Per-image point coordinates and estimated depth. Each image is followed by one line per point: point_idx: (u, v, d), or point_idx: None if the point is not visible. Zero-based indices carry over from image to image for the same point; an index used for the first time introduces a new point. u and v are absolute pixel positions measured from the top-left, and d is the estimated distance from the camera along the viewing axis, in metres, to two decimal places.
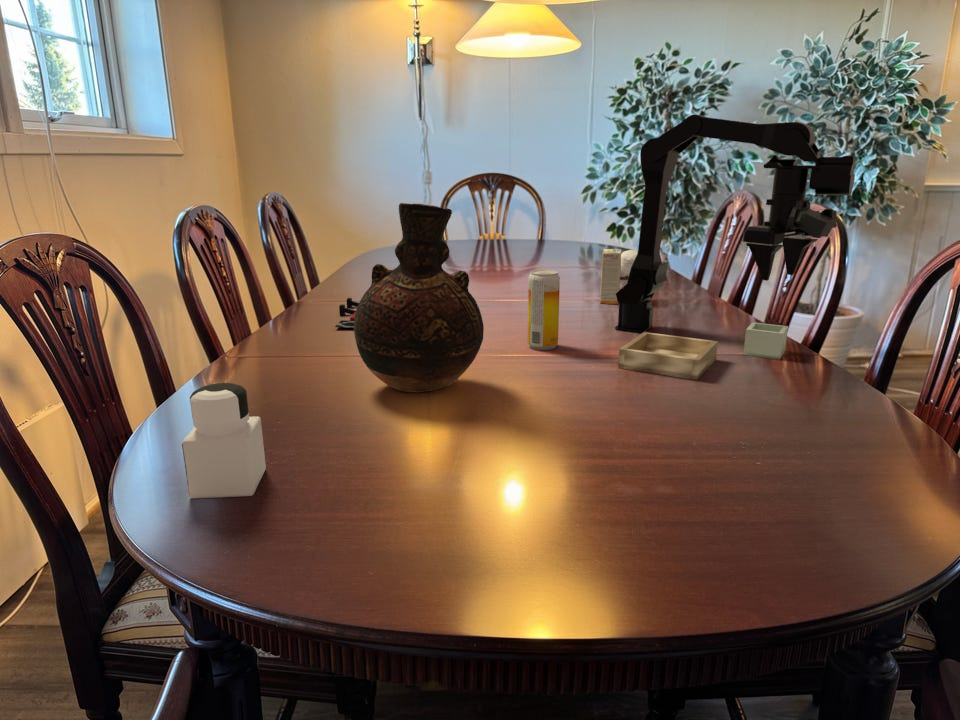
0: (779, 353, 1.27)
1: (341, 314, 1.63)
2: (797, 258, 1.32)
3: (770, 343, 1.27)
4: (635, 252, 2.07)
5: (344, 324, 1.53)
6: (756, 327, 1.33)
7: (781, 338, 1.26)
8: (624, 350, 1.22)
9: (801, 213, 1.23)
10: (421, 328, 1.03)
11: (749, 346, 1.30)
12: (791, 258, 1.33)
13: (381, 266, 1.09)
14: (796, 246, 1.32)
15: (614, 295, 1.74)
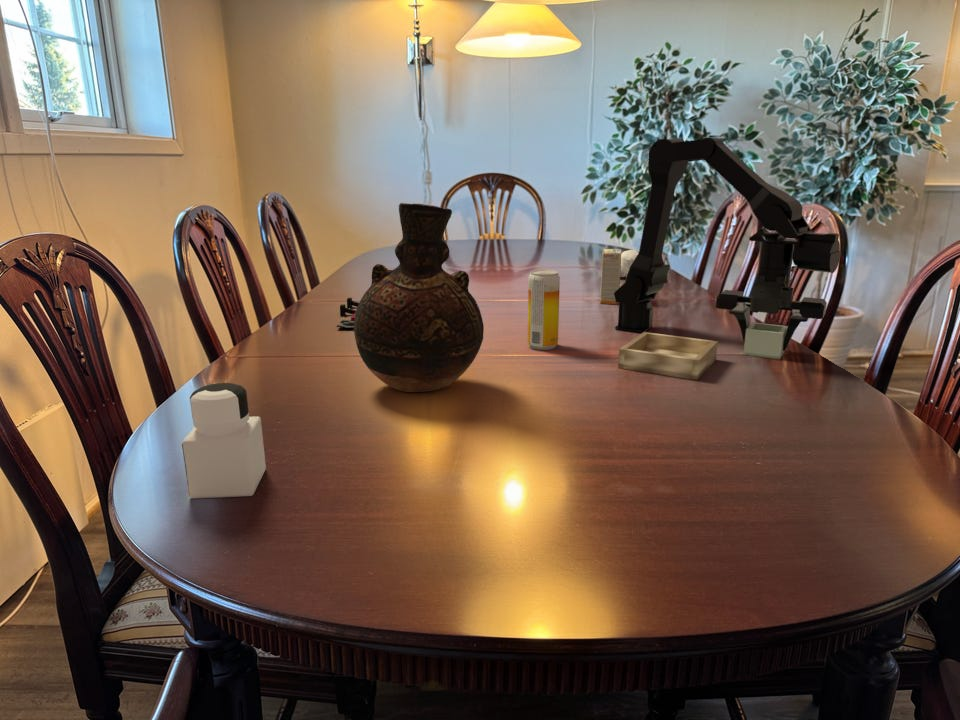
0: (779, 353, 1.27)
1: (342, 314, 1.63)
2: None
3: (770, 343, 1.27)
4: (635, 252, 2.07)
5: (345, 324, 1.52)
6: (756, 327, 1.33)
7: (781, 338, 1.26)
8: (624, 350, 1.22)
9: (756, 286, 1.26)
10: (421, 328, 1.03)
11: (749, 346, 1.30)
12: None
13: (381, 266, 1.09)
14: None
15: None
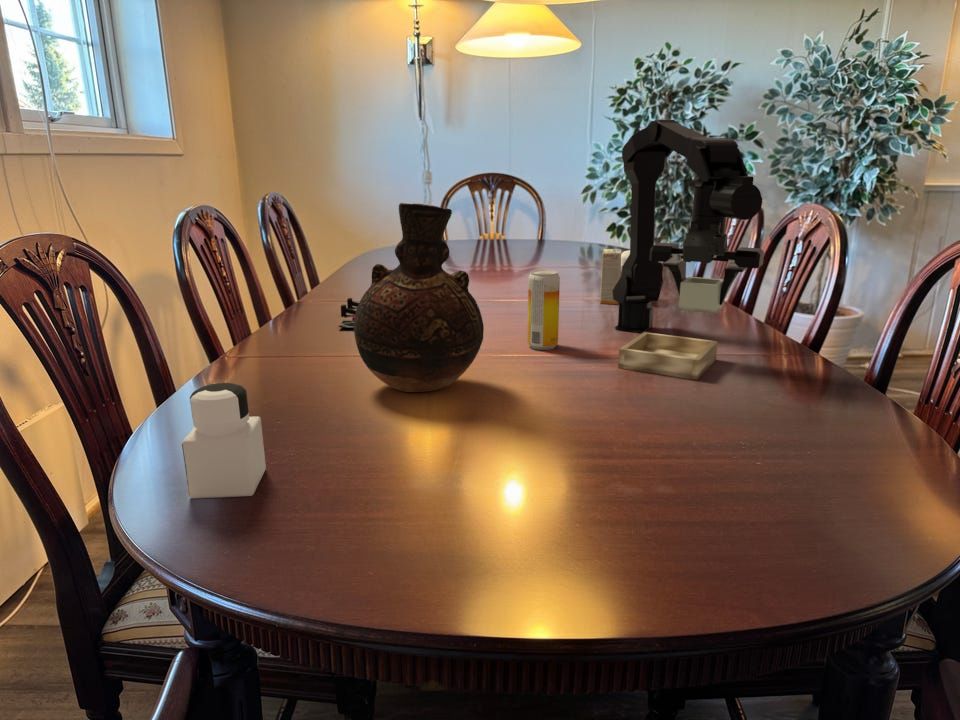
0: (715, 307, 1.20)
1: (343, 314, 1.63)
2: (722, 287, 1.21)
3: (706, 296, 1.20)
4: None
5: (347, 324, 1.52)
6: (693, 281, 1.26)
7: (717, 290, 1.19)
8: (624, 350, 1.22)
9: None
10: (421, 328, 1.03)
11: (684, 300, 1.22)
12: None
13: (381, 266, 1.09)
14: None
15: None
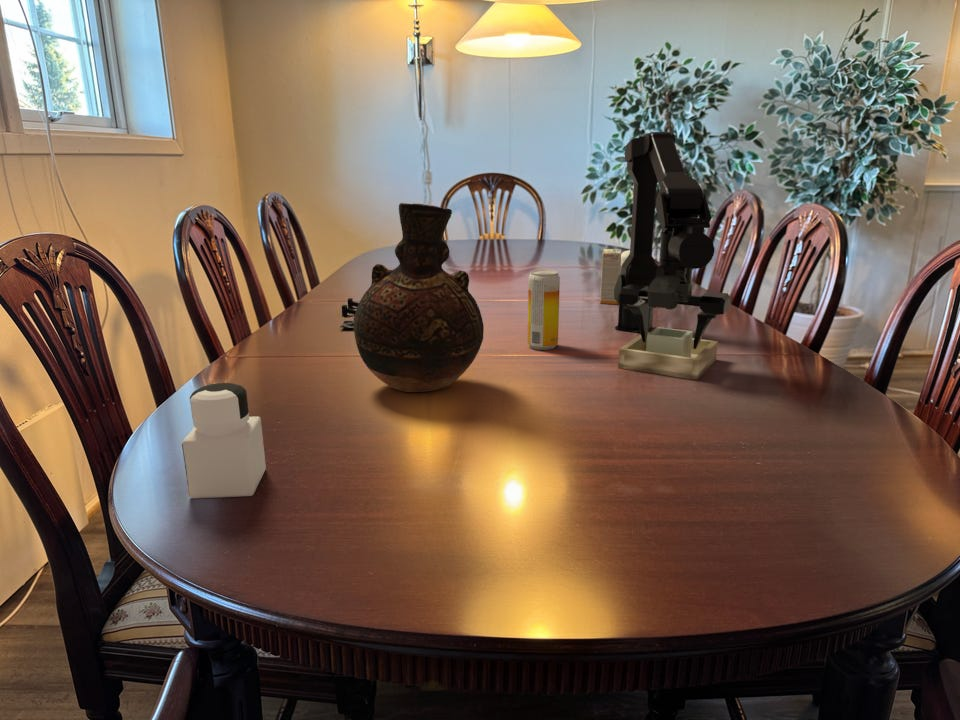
0: None
1: (344, 314, 1.63)
2: None
3: (671, 349, 1.21)
4: None
5: (349, 324, 1.52)
6: (661, 332, 1.27)
7: (682, 344, 1.20)
8: (624, 350, 1.22)
9: None
10: (421, 328, 1.03)
11: None
12: None
13: (381, 266, 1.09)
14: None
15: None
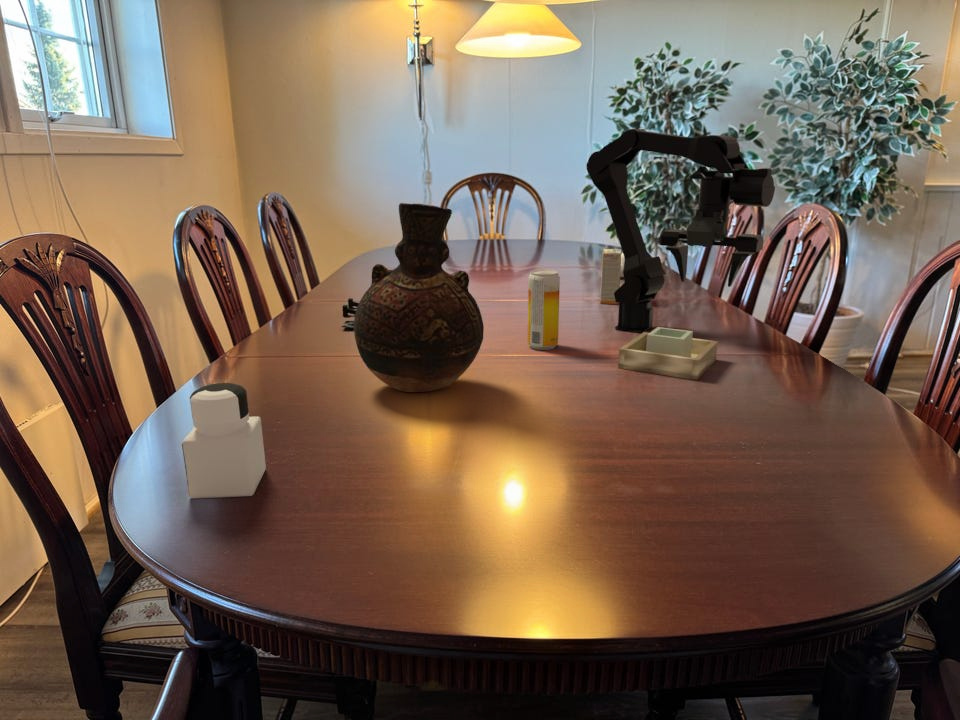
0: None
1: (344, 315, 1.63)
2: (730, 270, 1.32)
3: (671, 349, 1.21)
4: None
5: (350, 324, 1.52)
6: (661, 332, 1.27)
7: (682, 344, 1.20)
8: (624, 350, 1.22)
9: None
10: (421, 328, 1.03)
11: None
12: None
13: (381, 266, 1.09)
14: None
15: None
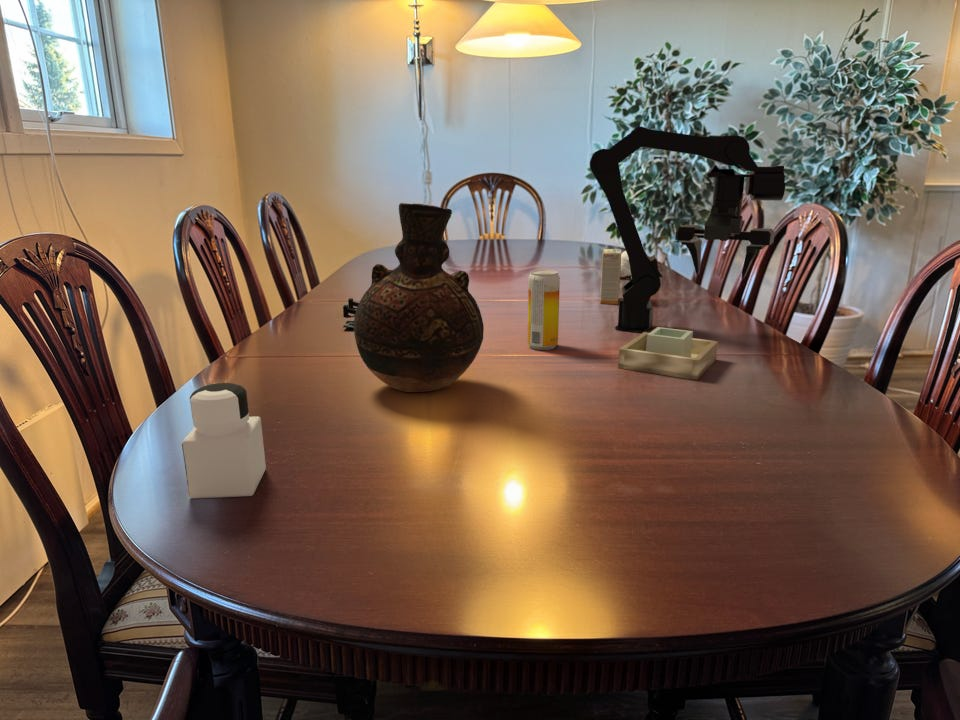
0: None
1: (345, 315, 1.63)
2: (744, 262, 1.40)
3: (671, 349, 1.21)
4: None
5: (351, 324, 1.52)
6: (661, 332, 1.27)
7: (682, 344, 1.20)
8: (624, 350, 1.22)
9: (710, 217, 1.38)
10: (421, 328, 1.03)
11: None
12: None
13: (381, 266, 1.09)
14: None
15: (614, 295, 1.74)
